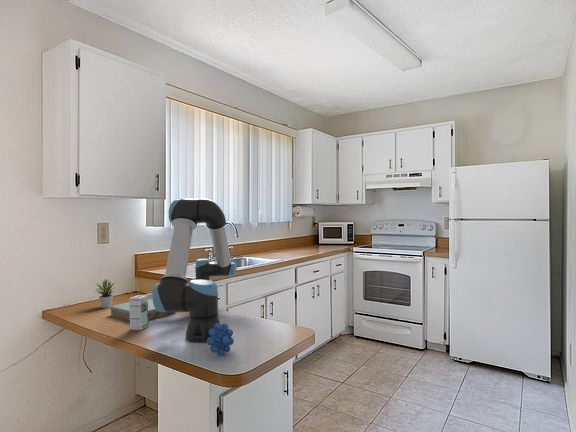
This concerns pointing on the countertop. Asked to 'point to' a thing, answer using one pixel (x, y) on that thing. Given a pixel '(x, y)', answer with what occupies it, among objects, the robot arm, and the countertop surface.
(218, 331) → the grapes
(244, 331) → the countertop surface
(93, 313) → the countertop surface
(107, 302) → the house plant
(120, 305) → the lid
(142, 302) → the syrup box
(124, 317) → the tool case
